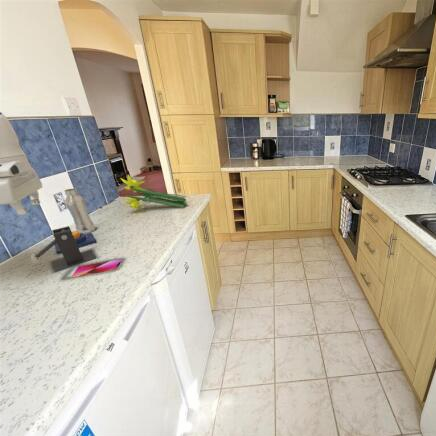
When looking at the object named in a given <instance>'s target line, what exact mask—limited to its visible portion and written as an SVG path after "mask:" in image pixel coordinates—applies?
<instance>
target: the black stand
mask: <svg viewBox="0 0 436 436" xmlns="http://www.w3.org/2000/svg"><path fill="white" fill-rule="evenodd" d="M63 229H64V230H66V231H62V232H60V231H61V230H63ZM72 232H73V231H72V230H71V227H70V226H69V225H67V226H63V227H59V228H55V229H52V235H53V238H54V240H56V242H57V244H58V246H59V248H60V250H61V252H62V253H61V254H62V256H63V257H62V258H59V259H56V260H53V261H52V264H53V268H54V272H55V273H58V272H61V271H63V270H66V269H69V268H72V267H75V266H79V265H81V264H85V263H87V262H90V261H93V260H96V259H97V257H96V255H95V253H94V251H93V249H91V248H90V249H88V250H84V251H81V250H80V248H78V246H77V243H76V241H75V239H74V236H73V234H72Z"/></svg>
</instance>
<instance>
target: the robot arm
mask: <svg viewBox="0 0 436 436" xmlns="http://www.w3.org/2000/svg"><path fill="white" fill-rule="evenodd" d="M30 163H31V162H30V161H29V159H28V157H27V154H26V153H25V152H24V151H23V149H22V148H21V146H20V139H19V137H18V135H17V133H16V130H15V128H14V127H13V125H12V123H11V122H10V120H9V119H8V118H7V116H6V115H5V114H4V113H3V112H1V111H0V206H3V205H9V206H10V207H11V208H13V210H15V212H16V214H17V215H19V216H22V215H27V213H28V210H27V207H24V205H22V201H21V200H23V199H24V198H26V197H28V196H29V198H30V201H29V202H30V204H31V206H39V205H40V204H41V200H40V196H39V190H40V189H42V188H43V182H42V181H41V179H40V177H39V174H38V173H37V171H36V170H35V169H34V168H33V167H32V166H31V164H30Z"/></svg>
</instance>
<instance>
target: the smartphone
mask: <svg viewBox="0 0 436 436" xmlns="http://www.w3.org/2000/svg"><path fill="white" fill-rule="evenodd" d="M123 262H124V259H123V258H117V259H111V260H106V261H100V262H94V263H90V264H83V265H77V268H76V269H75V270H74V272H73V274H72V275H71V277H70V279H76V278H80V277H87V276H92V275H97V274H104V273H110V272H114V271H117V270H118V269H119V268H120V267H121V265H122V264H123Z"/></svg>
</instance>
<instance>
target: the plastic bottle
mask: <svg viewBox="0 0 436 436" xmlns="http://www.w3.org/2000/svg"><path fill="white" fill-rule="evenodd" d="M64 194H65V196H66V197H65V199H64V200H65V201H64V205H65V206H66V208H67V210H68V211H69V214H70V215H71V217H72V219H73V222H74V227H75V231H79V233H84V234H88V233H92V232H94V231H95V230H96V226H95V224H94V222H93V221H92V219H91V216H90V215H89V212H88V209H87V206H86V201H85V199H84V198H83V197H82V196H81V195H79V194H78V191H77V189H76V188H68V189H64Z"/></svg>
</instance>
